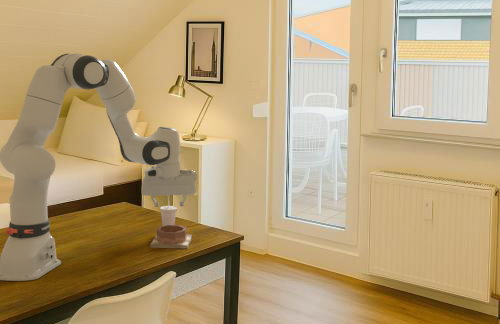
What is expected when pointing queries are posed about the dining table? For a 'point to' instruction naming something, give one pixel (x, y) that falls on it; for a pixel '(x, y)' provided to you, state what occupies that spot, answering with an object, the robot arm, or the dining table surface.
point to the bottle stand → (171, 237)
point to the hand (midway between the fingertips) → (169, 206)
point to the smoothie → (168, 214)
